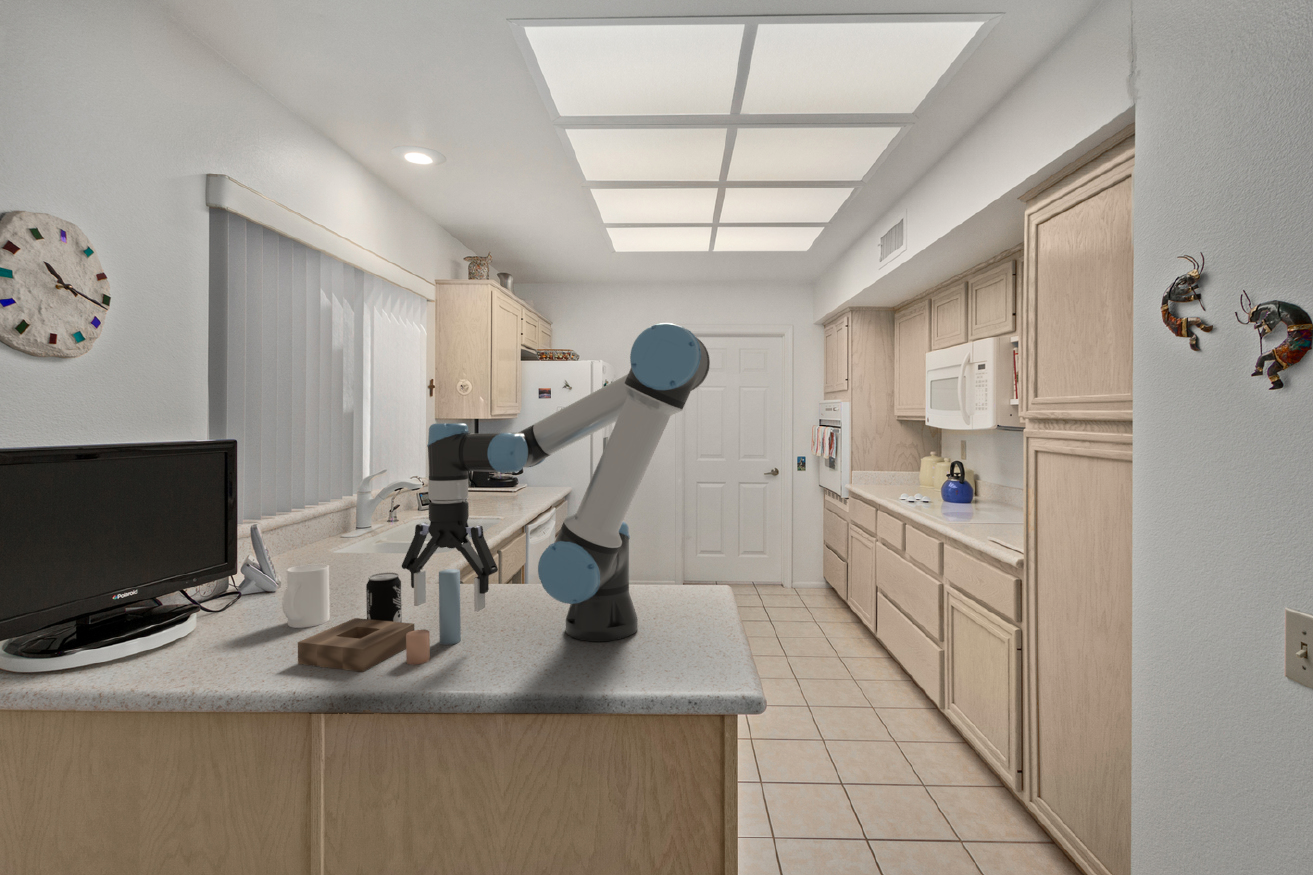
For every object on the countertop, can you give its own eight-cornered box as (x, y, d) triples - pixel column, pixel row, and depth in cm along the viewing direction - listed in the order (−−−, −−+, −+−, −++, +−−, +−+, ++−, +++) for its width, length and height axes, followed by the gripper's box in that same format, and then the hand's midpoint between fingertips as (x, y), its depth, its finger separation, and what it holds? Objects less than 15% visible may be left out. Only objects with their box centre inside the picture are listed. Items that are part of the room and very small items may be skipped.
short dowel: (434, 657, 112) (434, 630, 112) (420, 665, 108) (420, 638, 108) (415, 655, 113) (415, 628, 113) (401, 663, 109) (401, 636, 109)
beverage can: (388, 639, 121) (387, 580, 121) (359, 637, 122) (358, 579, 122) (408, 629, 128) (407, 572, 127) (380, 627, 129) (380, 571, 129)
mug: (265, 634, 125) (264, 576, 124) (301, 615, 137) (300, 563, 136) (304, 634, 124) (303, 576, 124) (337, 616, 136) (336, 563, 136)
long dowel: (464, 638, 122) (463, 569, 121) (453, 645, 118) (452, 574, 118) (447, 636, 123) (446, 568, 122) (435, 643, 119) (434, 573, 119)
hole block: (414, 643, 119) (414, 623, 119) (363, 671, 105) (362, 649, 105) (355, 637, 123) (354, 618, 122) (297, 664, 109) (297, 642, 109)
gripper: (514, 500, 120) (515, 606, 121) (407, 496, 127) (408, 596, 127) (495, 505, 113) (495, 617, 113) (382, 500, 119) (383, 607, 120)
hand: (449, 606), depth 120 cm, fingers open, 13 cm apart
